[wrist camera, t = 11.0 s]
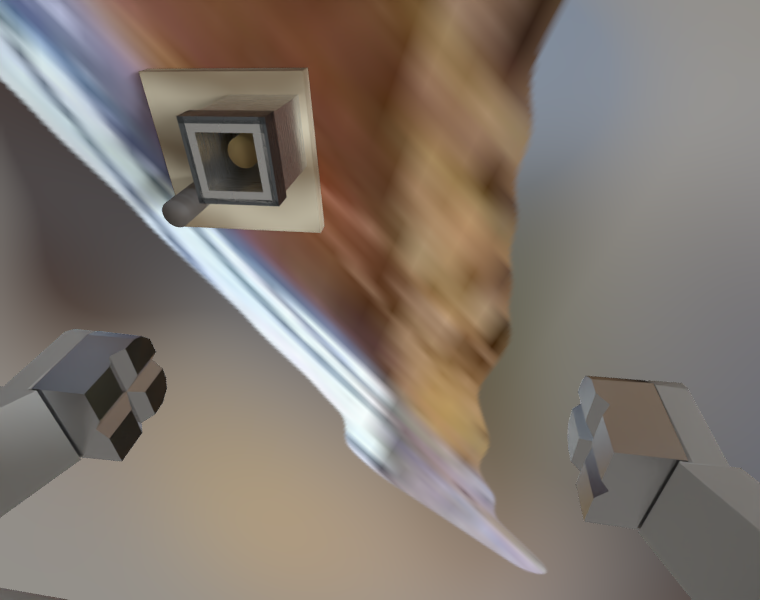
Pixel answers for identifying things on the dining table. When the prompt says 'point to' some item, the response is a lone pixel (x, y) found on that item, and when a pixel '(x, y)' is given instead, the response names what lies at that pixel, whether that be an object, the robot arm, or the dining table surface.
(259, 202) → the sleeve
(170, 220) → the pinboard
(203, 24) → the dining table surface
